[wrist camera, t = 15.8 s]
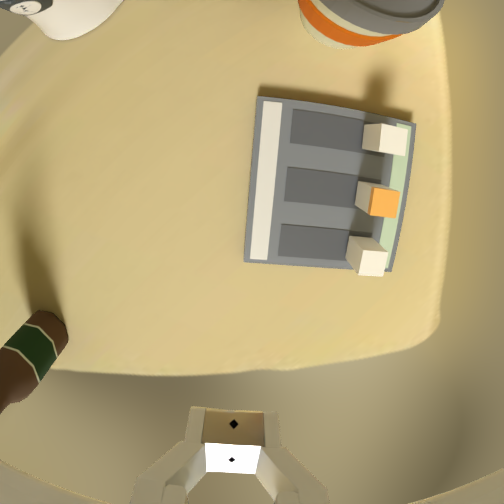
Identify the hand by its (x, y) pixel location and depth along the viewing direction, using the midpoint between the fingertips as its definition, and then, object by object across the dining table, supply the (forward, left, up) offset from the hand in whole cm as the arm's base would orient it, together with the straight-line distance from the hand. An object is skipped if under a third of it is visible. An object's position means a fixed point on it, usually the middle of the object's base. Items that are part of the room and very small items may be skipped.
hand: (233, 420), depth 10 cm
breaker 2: (+2, +14, -27) cm, 31 cm away
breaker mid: (-5, +14, -27) cm, 31 cm away
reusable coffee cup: (-26, +9, -29) cm, 40 cm away
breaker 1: (-11, +14, -27) cm, 32 cm away
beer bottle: (+20, -30, -29) cm, 46 cm away
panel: (-5, +10, -29) cm, 31 cm away
